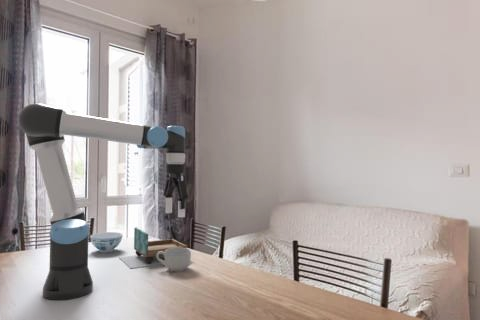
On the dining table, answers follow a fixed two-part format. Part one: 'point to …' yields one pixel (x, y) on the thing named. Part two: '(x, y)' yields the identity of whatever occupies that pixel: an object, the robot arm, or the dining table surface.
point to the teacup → (176, 258)
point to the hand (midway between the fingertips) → (174, 215)
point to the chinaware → (106, 241)
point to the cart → (152, 245)
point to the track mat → (140, 261)
